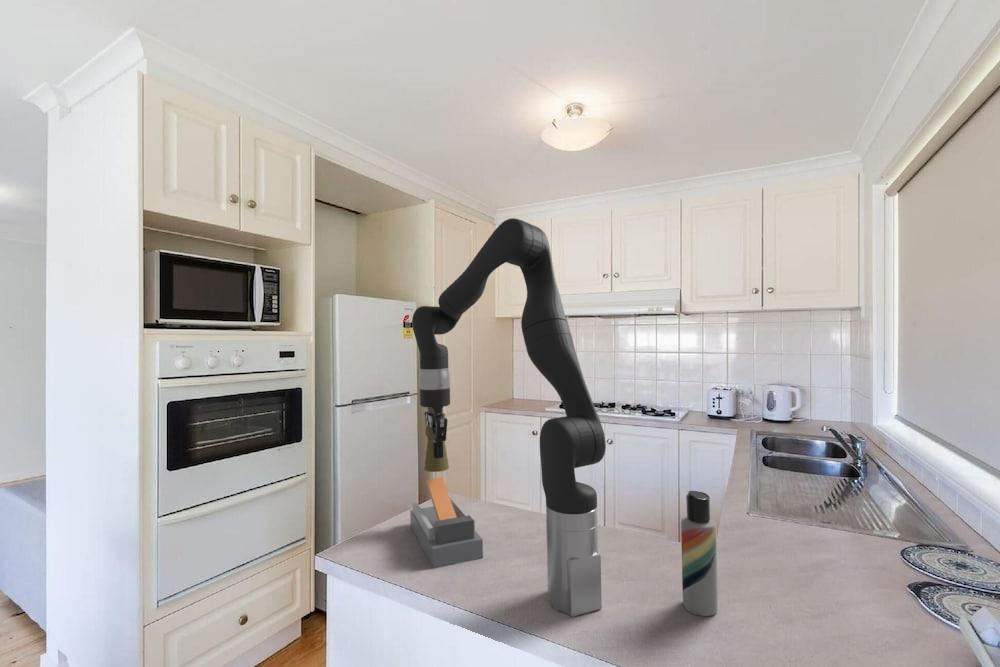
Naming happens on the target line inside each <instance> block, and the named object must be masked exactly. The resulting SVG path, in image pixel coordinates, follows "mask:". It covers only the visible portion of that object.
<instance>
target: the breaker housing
mask: <svg viewBox="0 0 1000 667" xmlns="http://www.w3.org/2000/svg"><path fill="white" fill-rule="evenodd" d="M449 497H450V500H451V503H452V506H453V508H454V511H455V514H456V516H457V517H456V518H451V519H445V520H439V521H438V518H437V515H436V512H435V509H434V506H433V505H432V506H429V507H428V506H427V507H422V508H421V507H420V505H419V504H418V502H417V501H415V502H412V509H410V515H409V516H410V527H411V529H412V531H413V532H414V534H415V536H416V539H417V540H418V542H419V544H420V546H421V547H422V549H423V552H424V554H425V555H426V557H427V559H428V561H429V563H430V564H431V566H432V568H433V569H436V568H442V567H447V566H450V565H456V564H460V563H464V562H469V561H474V560H478V559H480V560H481V559H483V558H484V548H483V547H484V546H483V545H484V544H483V538H482V537H481V536H480V535H479V534H478V532H477V531H476V529H475V528H476V525H475V523H476V522H475V521H476V520H474V518H473V517H472V516H471V515H470V514H469V513H468V511H467V510H466V509H464V508H463V506H462V505H461V504H460V503H459V502H458V500H457V499H455V498H454V496H449Z"/></svg>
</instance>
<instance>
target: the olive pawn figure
mask: <svg viewBox="0 0 1000 667" xmlns="http://www.w3.org/2000/svg"><path fill="white" fill-rule="evenodd" d="M433 428H434V427H433ZM424 430H425V436H426V437H427V444H426V453H425V461H424V471H426V472H429V473H430V472H431V473H439V472H440V473H441V472H443V471H447V470H449V468H450V466H449V460H448V454H447V447H446V441H444V442H443V457H442V458H435V457H434V442H433V433H431V430H430V425H428V426H427V427H426V426H425V429H424ZM434 430H436V428H434ZM439 436H441V433H439V434H438V437H439Z"/></svg>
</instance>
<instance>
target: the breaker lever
mask: <svg viewBox="0 0 1000 667" xmlns="http://www.w3.org/2000/svg"><path fill="white" fill-rule="evenodd" d="M443 478H444V477H437V478H429V479H426V487H427V490H428V492H429V496H430V499H431V503H432V507H433V506H434V509H435V512H436V515H437V518H438V521H439V520H445V519H451V518H456V517H457V516H456V514H455V511H454V508H453V506H452V503H451V500H450V497H451V496H450V495H449V493H448V489H447V487H446V484H445V481H444V479H443Z"/></svg>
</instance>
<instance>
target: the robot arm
mask: <svg viewBox="0 0 1000 667" xmlns="http://www.w3.org/2000/svg"><path fill="white" fill-rule="evenodd" d="M551 252H552V251H551V246H550V242H549V239H548V236H547V235H546V233H545V232H544V231H543V230H542V229H541V228H540V227H538V226H536V225H534V224H531V223H529V222H526V221H525V220H523V219H522V220H521V219H519V218H515V217H514V218H513V217H511V218H508V219H506V220H504V221H502V222H501V223H500V224H499V225H498V226H497V227H496V228H495V229H494V231H493V232H492V233H491V234H490V236H489V237H488V239H486V241H485V242H484V244H483V245H482V247H481V248H480V249H479V251H478V252H477V254H475V256H474V258H473V259H472V260H471V262H470V263H469V264H468V265H467V268H466V269H465V270H464V271H463V272H462V273H461V274H460V275H459V276H458V277H457V278H456V280H454V281H453V282H452V283H451V284H450V285H448V287H446V288H445V289H444V290H443V291H442V292H441V294H440V295H439V297H438V302H437V303H438V306H432V305H431V306H429V305H424V306H419V307H417V308H416V309H415V310H414V313H413V315H412V319H411V327H412V331H413V334H414V337H415V341H416V345H417V348H418V351H419V378H418V379H419V382H418V383H419V384H418V385H419V387H418V388H419V406H421V408H427V411H425V412H424V420H425V421H424V422H425V423H424V424H425V428H426V427H427V426H428V425H430V430H431V433H433V442H434V457H435V458H442V457H443V442H444V441H445V442H446V440H447V434H448V433H447V432H448V431H447V429H448V418H447V417H446V414H445V413H444V407H448V406H450V404H451V382H450V380H451V378H450V371H449V370H450V368H449V351H448V350H449V349H448V347H447V346H446V345H444V344H441V343H439V342H438V341H437V338H436V336H435V335H438V336H439V335H440V336H441V335H445V334H448V333H449V332H451V331H452V330H453V329H454V328H455V327H456V325H457V324H458V322H459V320H460V319H461V317H462V315H463V314H464V313H466V312H467V311H468V310H469V309H470V308H471V307H473V306H474V305H475V304H476V303H477V302H478V301H479V300H480V298H481V297H482V295H483V294H484V292H485V289H486V285H487V282H488V278H489V277H490V275H491V274H492V273H493V272H494V271H495V270H496V269H497V268H499V267H501V266H503V265H504V264H506V263H508V264H510V265H513V266H516V267H519V268H520V270H521V273H522V276H523V279H524V283H525V288H526V299H525V303H524V307H523V310H522V314H521V321H520V322H521V323H520V324H521V325H520V326H521V327H520V328H521V332H522V336H523V341H524V344H525V348H526V352H527V356H528V357H529V359H530V361H531V362H532V364H533V366H534V367H535V368H536V369H537V370H538V371H539V373H540V374H541V375H542V376H543V377H544V378H545V379H546V380H547V381H548V383H550V385H551V386H552V388H554V390H555V392H556V393H557V395H558V397H559V399H560V401H561V403H562V406H563V409H564V412H565V416H560V417H553V418H550V419H547V420H546V421H544V423H543V424H542V426H541V429H540V433H539V454H540V467H541V483H542V488H543V492H544V496H545V522H546V526H545V528H546V530H545V531H546V532H545V533H546V567H547V568H546V572H547V575H546V576H547V601H548V603H549V605H550V606H552V607H553V608H554V609H556V610H558V611H559V612H562V613H566V614H568V615H569V616H570V617H572V618H573V617H576V616H577V617H578V616H581V615H583V614H587V613H590V612H595V611H598V610H600V609H603V608H602V607H603V606H602V605H603V603H602V601H603V600H602V565H601V564H602V563H601V562H602V561H601V558H602V556H601V554H600V553H599V536H598V535H599V534H598V533H599V530H598V529H599V528H598V523H599V522H598V494H597V491H596V490H595V488H593V487H592V486H590V485H589V484H586V483H584V482H579V481H577V480H576V473H575V469H576V468H581V467H586V466H591V465H595V464H597V463H600V462H601V461H602V460H603V458H604V456H605V453H606V437H605V432H604V428H603V425H602V422H601V420H600V418H599V415H598V413H597V410H596V407H595V404H594V403H593V399H592V397H591V394H590V392H589V390H588V386H587V384H586V382H585V378H584V374H583V372H582V369H581V365H580V363H579V359H578V356H577V352H576V349H575V348H576V347H575V345H574V341H573V337H572V333H571V329H570V325H569V323H568V319H567V316H566V314H565V311H564V307H563V303H562V299H561V296H560V292H559V287H558V285H557V281H556V276H555V270H554V265H553V264H554V263H553V258H552V253H551ZM433 427H434V428H436V430H434V428H433ZM439 433H441V436H439V437H438V434H439Z"/></svg>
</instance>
